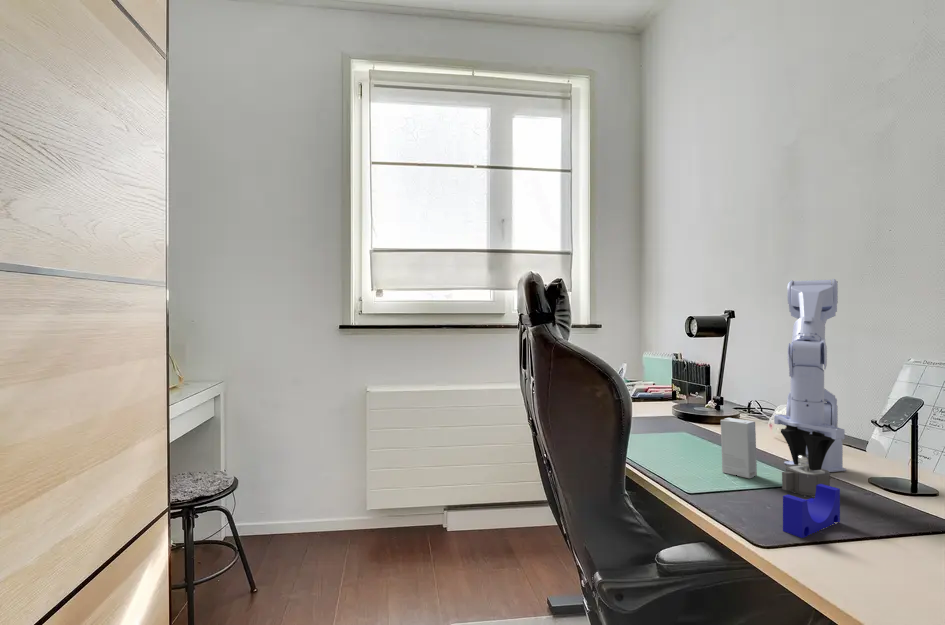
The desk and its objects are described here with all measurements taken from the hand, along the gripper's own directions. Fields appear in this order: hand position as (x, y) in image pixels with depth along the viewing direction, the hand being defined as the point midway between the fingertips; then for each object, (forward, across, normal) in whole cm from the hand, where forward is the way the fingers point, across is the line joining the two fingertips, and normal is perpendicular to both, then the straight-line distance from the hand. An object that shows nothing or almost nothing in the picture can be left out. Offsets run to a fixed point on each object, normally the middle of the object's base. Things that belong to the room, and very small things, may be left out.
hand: (807, 466), depth 102 cm
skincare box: (+5, -12, -6) cm, 14 cm away
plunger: (+4, 0, 0) cm, 4 cm away
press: (+5, 0, 0) cm, 5 cm away
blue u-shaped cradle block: (+5, +14, -14) cm, 21 cm away
